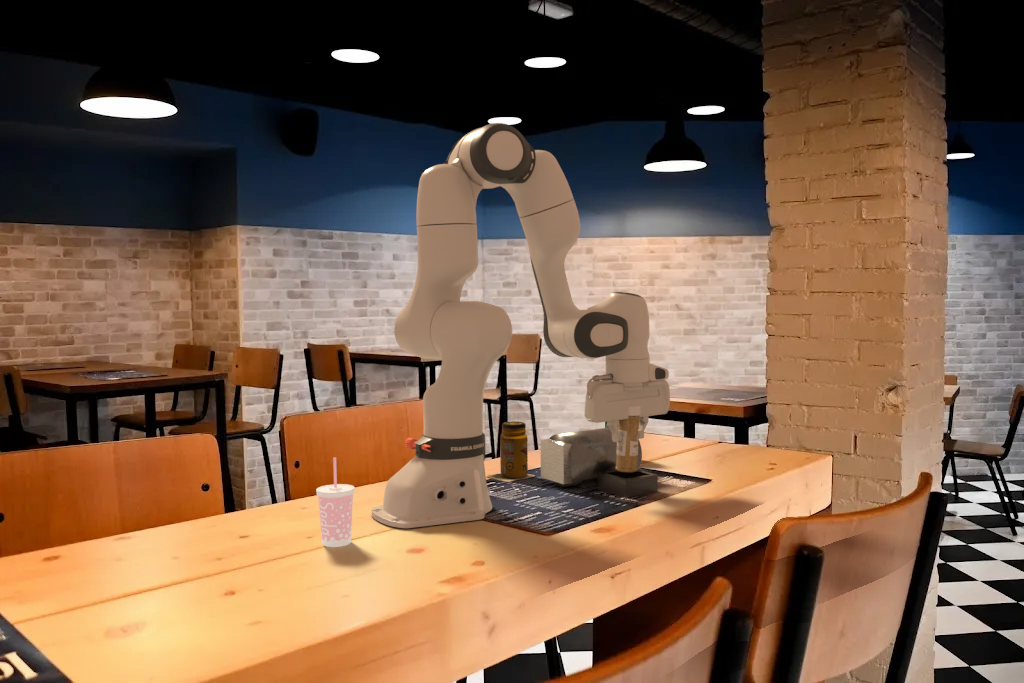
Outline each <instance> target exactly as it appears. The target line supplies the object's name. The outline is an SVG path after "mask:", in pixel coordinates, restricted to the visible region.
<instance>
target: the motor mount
mask: <svg viewBox="0 0 1024 683" xmlns="http://www.w3.org/2000/svg"><path fill="white" fill-rule="evenodd" d="M641 445H642V444H641V442H640V440H639V441H638V458H637V459H638V460H637V468H638V470H637V471H636V472H631V473H627V472H620V471H617V470H616V463H617V442H613V441H612V433H611V431H610V429H609V428H606V427H603V428H595V429H588V430H587V429H586V430H581V431H572V432H564V433H556V434H553V435H551V436H550V437H549V438H545V439H540V478H542V479H545V480H548V481H551V482H553V484H554V485H556V486H557V487H559V488H560V487H561V488H567V487H573V486H575V487H577V488H581V489H586V488H593V487H597V490H598V491H601V492H605V493H608V494H612V495H616V496H619V497H622V498H624V499H625V498H626V499H627V498H632V497H637V496H642V495H647V494H652V493H658V488H659V487H658V484H659V483H658V482H659V481H658V478H659V477H658V476H659V475H658V474H656V473H652V472H649V471H645V470H640V467H641V464H642V459H643V451H642V446H641Z"/></svg>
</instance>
